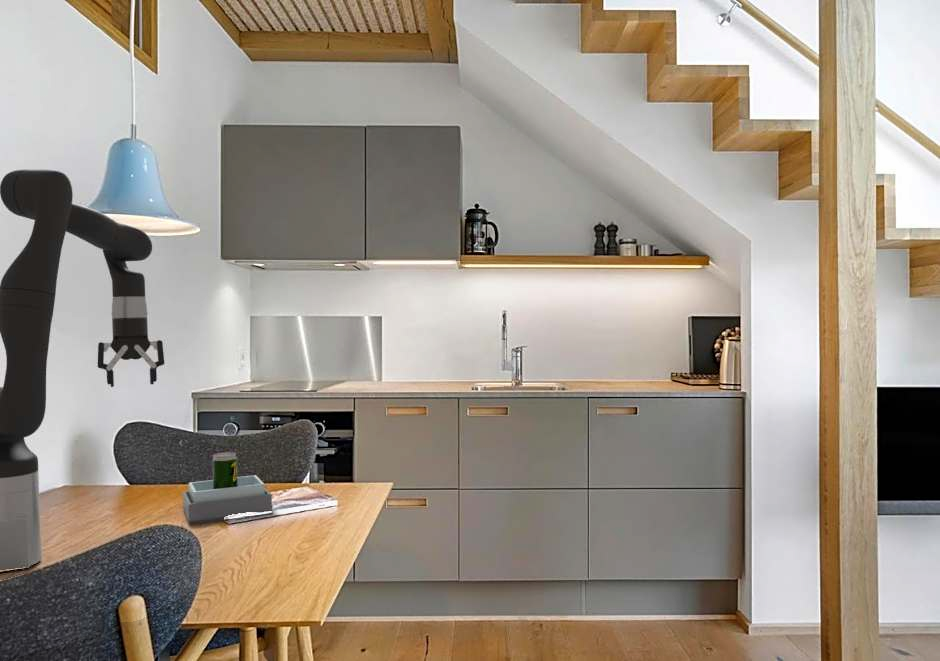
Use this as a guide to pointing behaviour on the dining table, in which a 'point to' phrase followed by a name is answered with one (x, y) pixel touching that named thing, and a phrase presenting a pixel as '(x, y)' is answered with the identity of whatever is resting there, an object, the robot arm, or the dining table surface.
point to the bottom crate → (224, 507)
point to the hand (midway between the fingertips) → (132, 385)
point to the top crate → (225, 490)
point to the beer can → (224, 470)
